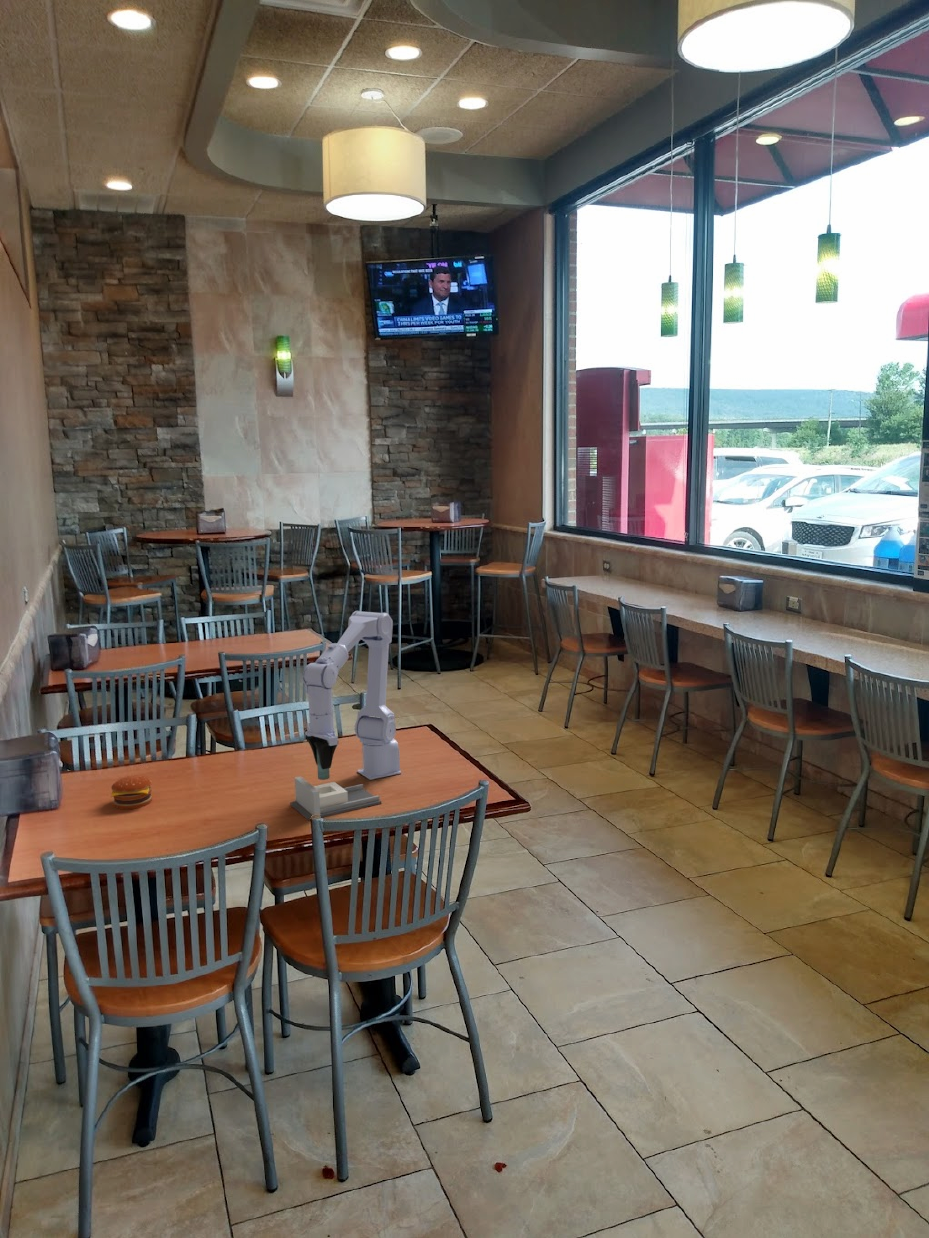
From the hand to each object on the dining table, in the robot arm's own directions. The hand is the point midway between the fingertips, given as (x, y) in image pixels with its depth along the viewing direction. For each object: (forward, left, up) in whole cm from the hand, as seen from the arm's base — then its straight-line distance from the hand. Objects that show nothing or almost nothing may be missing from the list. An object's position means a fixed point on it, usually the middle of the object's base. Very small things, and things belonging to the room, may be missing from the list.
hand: (323, 766), depth 223 cm
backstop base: (-3, +1, -10) cm, 10 cm away
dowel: (0, 0, -3) cm, 3 cm away
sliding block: (0, +1, -9) cm, 9 cm away
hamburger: (+39, -28, -10) cm, 50 cm away
